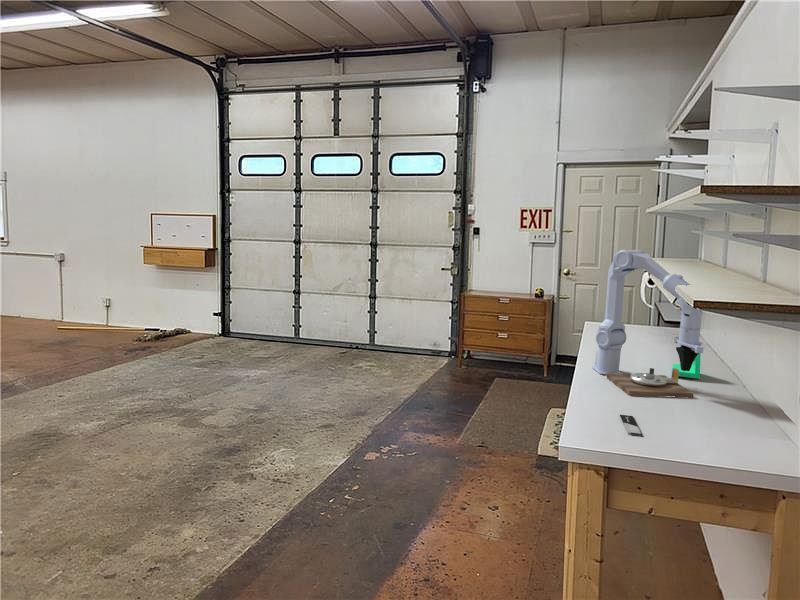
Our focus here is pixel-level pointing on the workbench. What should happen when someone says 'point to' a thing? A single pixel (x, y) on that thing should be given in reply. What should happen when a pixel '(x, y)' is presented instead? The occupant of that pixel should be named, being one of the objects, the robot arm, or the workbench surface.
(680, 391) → the fixture board
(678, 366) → the camera mount
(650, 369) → the dowel pin
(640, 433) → the computer memory module
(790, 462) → the workbench surface
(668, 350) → the workbench surface
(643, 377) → the flange plate
